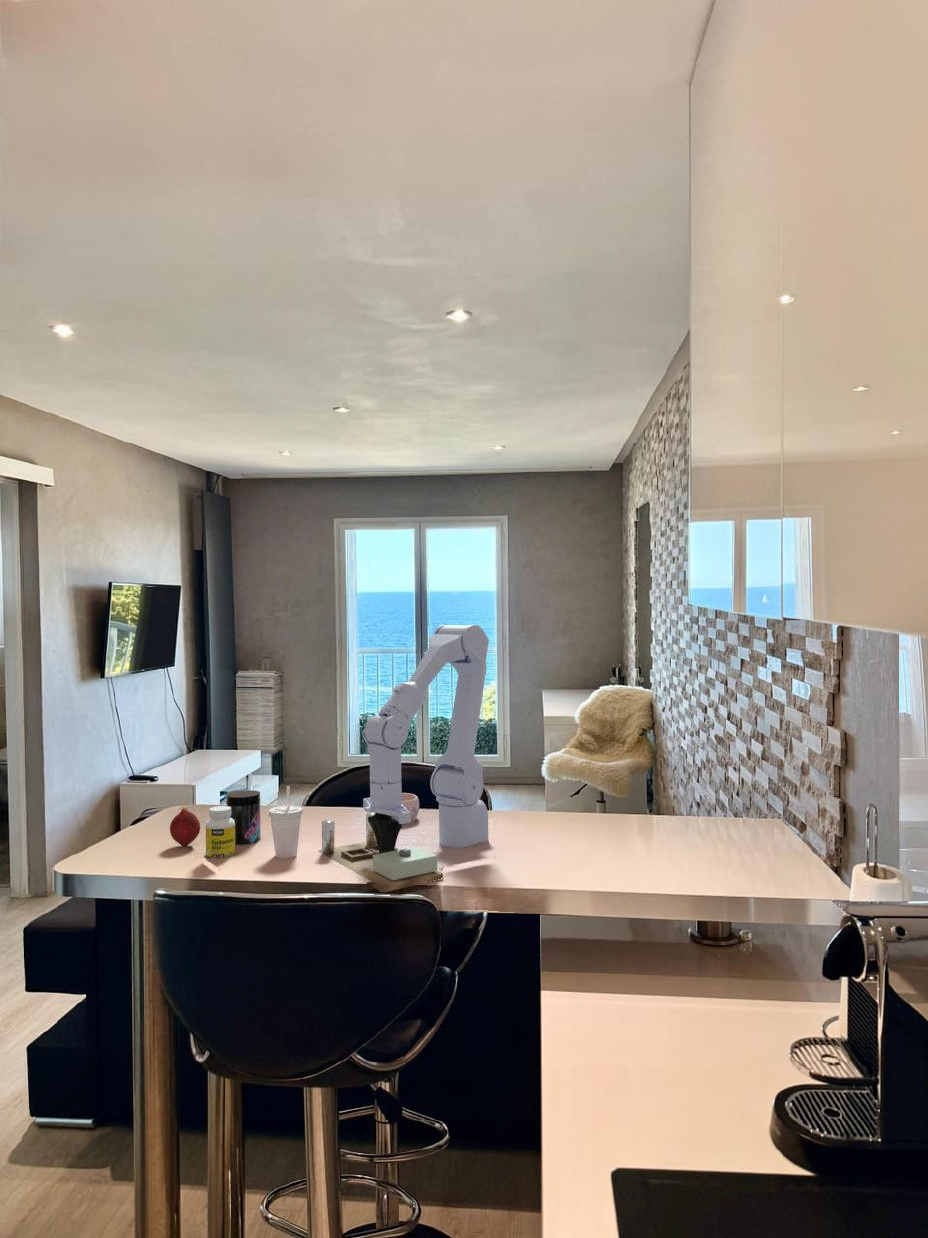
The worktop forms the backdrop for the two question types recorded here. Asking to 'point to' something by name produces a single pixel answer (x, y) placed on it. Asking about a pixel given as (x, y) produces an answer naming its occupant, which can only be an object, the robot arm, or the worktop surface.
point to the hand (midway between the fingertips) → (386, 855)
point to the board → (362, 863)
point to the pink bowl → (411, 804)
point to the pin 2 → (370, 832)
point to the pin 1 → (328, 836)
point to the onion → (184, 827)
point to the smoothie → (286, 828)
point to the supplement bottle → (220, 833)
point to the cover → (404, 863)
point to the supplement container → (245, 815)
